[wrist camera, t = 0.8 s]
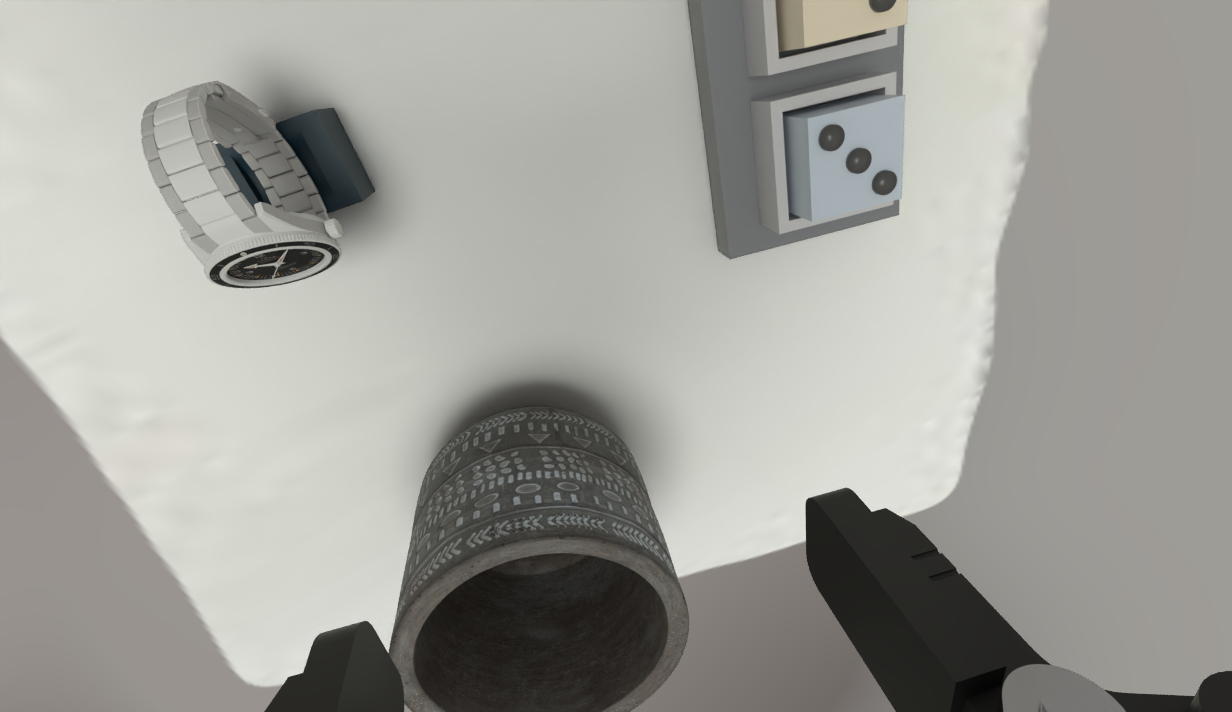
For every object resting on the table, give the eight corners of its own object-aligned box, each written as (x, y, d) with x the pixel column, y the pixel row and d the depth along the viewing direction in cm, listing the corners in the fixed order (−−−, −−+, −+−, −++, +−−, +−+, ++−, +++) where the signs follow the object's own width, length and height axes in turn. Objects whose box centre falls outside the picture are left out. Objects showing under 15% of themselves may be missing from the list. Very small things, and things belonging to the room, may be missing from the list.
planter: (654, 497, 43) (723, 678, 30) (484, 569, 43) (477, 784, 30) (586, 343, 37) (635, 487, 23) (385, 429, 36) (319, 622, 23)
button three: (775, 115, 30) (810, 118, 26) (862, 94, 30) (908, 95, 27) (781, 209, 32) (815, 223, 29) (863, 188, 32) (905, 199, 29)
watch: (298, 258, 31) (205, 335, 21) (206, 107, 27) (45, 116, 18) (394, 224, 31) (346, 285, 21) (316, 70, 28) (216, 57, 18)
